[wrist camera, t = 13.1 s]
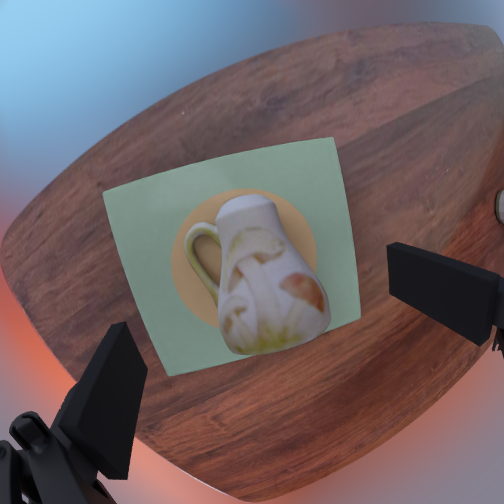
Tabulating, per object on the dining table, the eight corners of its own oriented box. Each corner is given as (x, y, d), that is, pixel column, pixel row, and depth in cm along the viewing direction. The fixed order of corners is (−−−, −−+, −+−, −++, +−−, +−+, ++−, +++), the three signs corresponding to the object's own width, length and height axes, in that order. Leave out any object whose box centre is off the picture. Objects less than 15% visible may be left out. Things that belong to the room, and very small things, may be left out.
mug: (277, 172, 19) (381, 250, 12) (268, 273, 25) (334, 356, 18) (174, 190, 17) (240, 303, 10) (190, 297, 23) (240, 401, 16)
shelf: (126, 192, 24) (100, 192, 17) (302, 149, 26) (335, 136, 19) (174, 338, 28) (168, 378, 21) (329, 293, 30) (362, 319, 23)
